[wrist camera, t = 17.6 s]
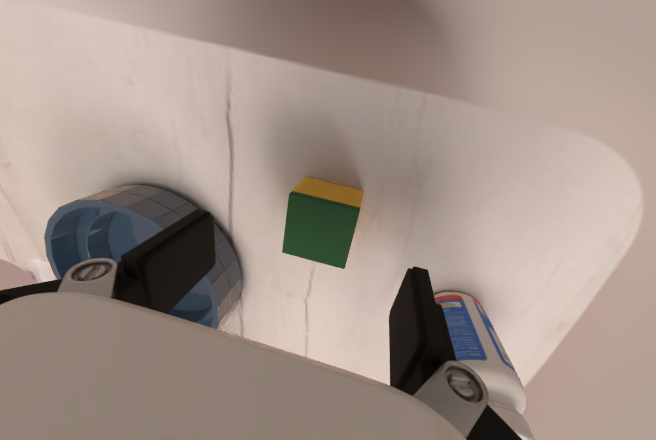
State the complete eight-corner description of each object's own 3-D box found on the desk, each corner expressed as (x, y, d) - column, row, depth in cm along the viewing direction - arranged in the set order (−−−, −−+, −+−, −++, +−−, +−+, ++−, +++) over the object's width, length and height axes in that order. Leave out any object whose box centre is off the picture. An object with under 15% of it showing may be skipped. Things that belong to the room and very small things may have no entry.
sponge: (306, 176, 19) (288, 193, 16) (363, 190, 19) (359, 210, 15) (298, 227, 21) (282, 252, 18) (350, 240, 21) (344, 269, 17)
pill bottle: (407, 324, 24) (423, 456, 15) (431, 281, 21) (467, 407, 12) (465, 343, 23) (517, 488, 14) (497, 301, 21) (580, 445, 12)
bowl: (79, 164, 23) (15, 178, 19) (247, 206, 21) (216, 231, 17) (115, 297, 30) (74, 327, 26) (242, 335, 29) (220, 373, 25)
